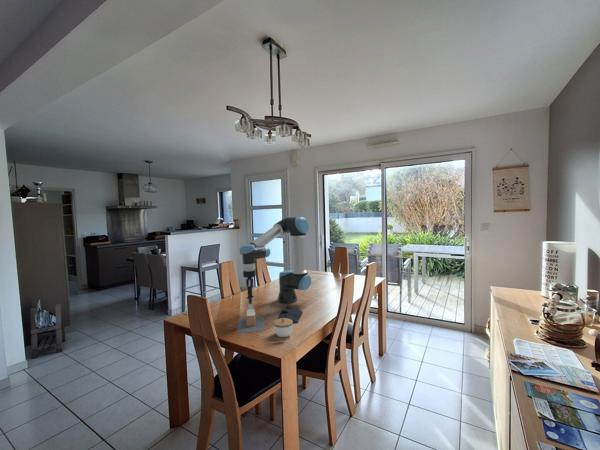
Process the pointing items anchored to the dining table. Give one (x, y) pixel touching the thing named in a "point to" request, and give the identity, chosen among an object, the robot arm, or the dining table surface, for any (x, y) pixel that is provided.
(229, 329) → the dining table surface
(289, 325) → the lidded jar
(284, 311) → the dark slate chunk
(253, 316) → the block
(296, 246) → the robot arm
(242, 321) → the mat
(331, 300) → the dining table surface
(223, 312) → the dining table surface
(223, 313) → the dining table surface
